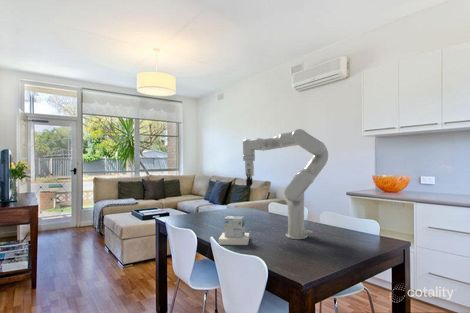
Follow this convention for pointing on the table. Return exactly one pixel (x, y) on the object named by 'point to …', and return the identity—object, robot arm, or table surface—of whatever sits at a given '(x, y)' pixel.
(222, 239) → the base block
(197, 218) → the table surface
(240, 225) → the light bulb box
